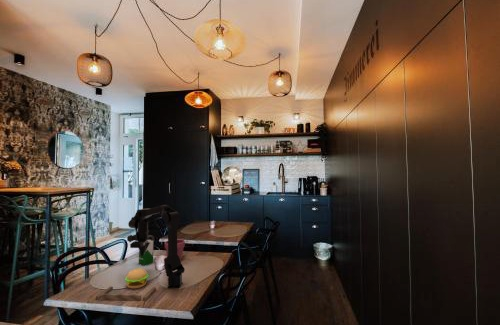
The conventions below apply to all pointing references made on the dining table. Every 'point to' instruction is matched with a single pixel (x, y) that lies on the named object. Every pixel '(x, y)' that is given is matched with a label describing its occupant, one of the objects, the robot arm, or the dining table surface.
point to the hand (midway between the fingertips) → (142, 255)
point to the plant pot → (179, 247)
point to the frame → (123, 295)
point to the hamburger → (136, 278)
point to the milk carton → (147, 255)
